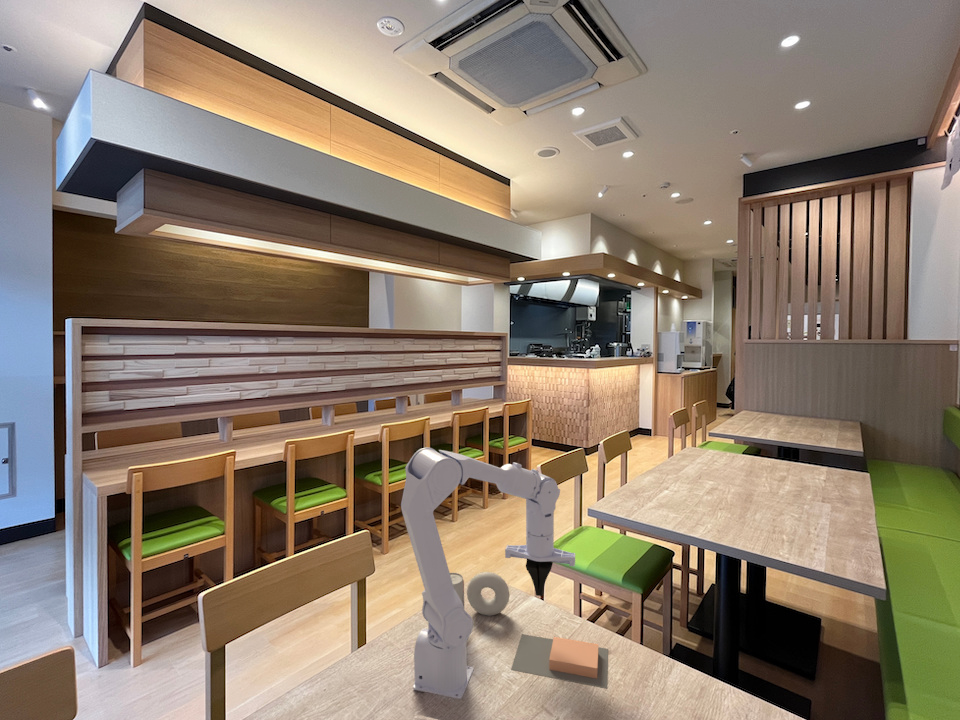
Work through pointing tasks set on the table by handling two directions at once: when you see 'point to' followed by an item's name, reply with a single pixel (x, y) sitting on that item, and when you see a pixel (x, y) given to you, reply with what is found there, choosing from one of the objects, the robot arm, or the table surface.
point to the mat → (536, 661)
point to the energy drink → (458, 585)
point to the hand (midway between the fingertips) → (539, 593)
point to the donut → (484, 604)
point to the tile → (574, 657)
